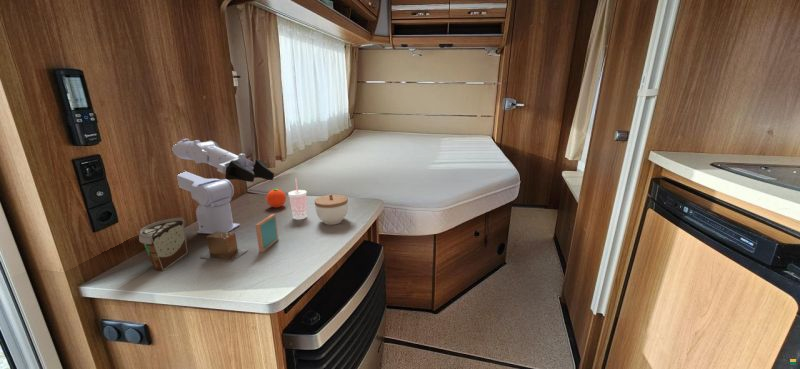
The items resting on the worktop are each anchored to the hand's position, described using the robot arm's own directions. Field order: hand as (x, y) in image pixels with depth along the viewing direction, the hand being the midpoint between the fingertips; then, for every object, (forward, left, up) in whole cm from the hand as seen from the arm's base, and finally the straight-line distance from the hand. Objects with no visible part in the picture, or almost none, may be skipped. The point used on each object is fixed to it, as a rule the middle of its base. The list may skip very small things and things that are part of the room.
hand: (263, 177), depth 93 cm
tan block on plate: (-7, -11, -19) cm, 23 cm away
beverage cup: (0, +18, -19) cm, 26 cm away
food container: (-20, -17, -19) cm, 33 cm away
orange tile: (+2, -4, -19) cm, 19 cm away
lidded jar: (+13, +16, -19) cm, 28 cm away
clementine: (-14, +27, -19) cm, 36 cm away
